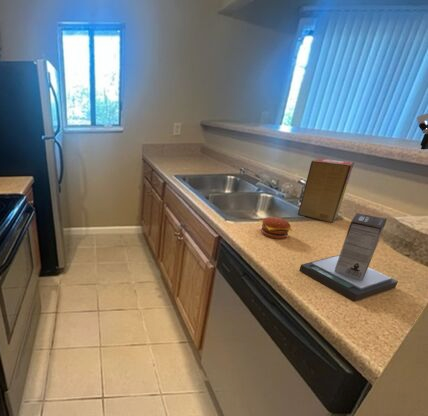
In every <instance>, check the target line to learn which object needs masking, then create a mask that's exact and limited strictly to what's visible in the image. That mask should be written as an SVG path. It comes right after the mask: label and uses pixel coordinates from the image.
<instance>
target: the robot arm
mask: <svg viewBox="0 0 428 416" xmlns="http://www.w3.org/2000/svg"><path fill="white" fill-rule="evenodd" d="M416 120H417V123H418V128H419V129H420V130H421V131H422V134H423V137H422V140H421V142H420V146H421V147H420V150H424V151H425V150H428V112H427V113H425V114H421V115H418V116H417V117H416Z"/></svg>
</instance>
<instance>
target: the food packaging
mask: <svg viewBox="0 0 428 416" xmlns="http://www.w3.org/2000/svg"><path fill="white" fill-rule="evenodd" d="M354 164H355V162H354V161H345V160H335V159H328V158H327V159H325V158H320V157H319V158H318V157H317V158H315V159H313V160H311V162H310V166H309V169H308V173H307V177H306V182H305V186H304V189H303V193H302V197H301V200H300V204H299V207H298V211H297V215H298V216H301V217H306V218H310V219H314V218H315V219H314V220H319V219H320V221H323V222H327V223H331V224H332V223H334V222H335V220H336V219H337V218H338V215H339V212H340V208H341V206H342V203H343V199H344V196H345V193H346V190H347V187H348V183H349V181H350V179H351V174H352V171H353V168H354Z"/></svg>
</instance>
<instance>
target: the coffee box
mask: <svg viewBox="0 0 428 416" xmlns="http://www.w3.org/2000/svg"><path fill="white" fill-rule="evenodd" d="M387 219H388V218H387V217H386V218H385V217H380V216H375V215H369V214H365V213H360V212H356V213H355V214H354V216H353V217H352V220H351V221H350V224H349V227H348V229H347V232H346V236H345V238H344V241H343V244H342V247H341V250H340V253H339V255H340V256H339V259H338V261H337V264H336V267H335V272H337V273H340V274H343V275H346V276H349V277H352V278H355V279H358V280H363V278H364V276H365V273H366V271H367V269H368V268H369V267H370V264H371V262H372V259H373V256H374V254H375V251H376V249H377V247H378V244H379V241H380V238H381V236H382V235H383V231H384V229H385V226H386V223H387Z"/></svg>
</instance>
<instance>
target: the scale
mask: <svg viewBox="0 0 428 416" xmlns="http://www.w3.org/2000/svg"><path fill="white" fill-rule="evenodd" d="M339 256H340V254H337V255H333V256H330V257H329V256H328V257H325V258H321V259H318V260H313V261H310V262H305V263H302V264H300V266H299V272H301V273H303V274H304V275H306V276H308V277H310V278H311V279H314V280H315V281H317V282H319V283H320V284H322V285H324V286H326V287H328V288H330V289H331V290H333V291H334V292H337V293H338V294H340V295H342V296H344V297H345V298H347V299H349V300H351V301H353V302H357V301H361V300H364V299H366V298H370V297H372V296H375V295H378V294H382V293H384V292H387V291H390V290H392V288H393V289H396V288H397V284H398V283H399V280H397V279H394V278H393V277H390V276H389V275H387V274H384V273H382V272H380V271H377V270H375V269H373V268H371V267H368V269H367V271H366V273H365V276H364V278H363V280H358V279H355V278H352V277H349V276H346V275H343V274H340V273H337V272H335V267H336V264H337V261H338V259H339Z"/></svg>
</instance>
